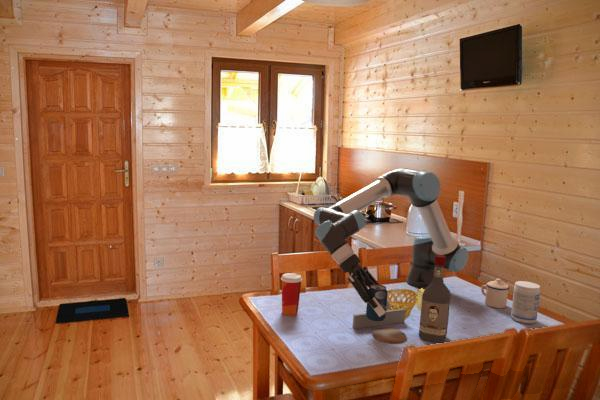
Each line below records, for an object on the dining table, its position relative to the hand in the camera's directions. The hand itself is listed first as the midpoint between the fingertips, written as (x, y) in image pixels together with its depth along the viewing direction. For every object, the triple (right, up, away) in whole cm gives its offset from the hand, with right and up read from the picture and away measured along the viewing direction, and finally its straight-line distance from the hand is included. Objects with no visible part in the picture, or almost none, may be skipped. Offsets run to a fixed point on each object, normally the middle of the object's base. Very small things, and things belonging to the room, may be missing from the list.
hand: (385, 311), depth 185 cm
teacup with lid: (+53, -6, +41) cm, 67 cm away
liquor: (+17, -10, +2) cm, 20 cm away
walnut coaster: (+1, -9, +1) cm, 9 cm away
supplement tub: (+59, -9, +24) cm, 64 cm away
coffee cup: (-34, -5, +18) cm, 39 cm away
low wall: (-1, -7, +11) cm, 13 cm away
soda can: (-3, -3, +2) cm, 5 cm away
